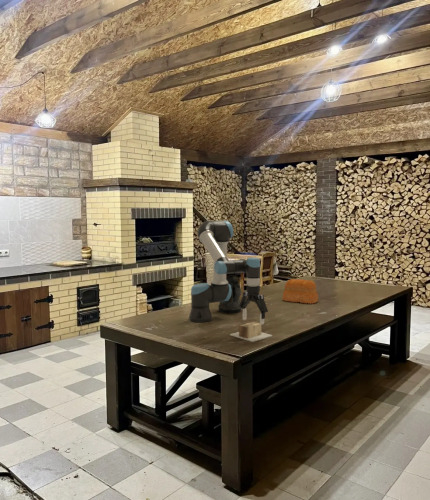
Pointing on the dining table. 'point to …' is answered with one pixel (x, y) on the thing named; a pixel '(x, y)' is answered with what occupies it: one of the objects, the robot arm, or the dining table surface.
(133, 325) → the dining table surface
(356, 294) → the dining table surface
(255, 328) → the oak block
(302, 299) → the bread
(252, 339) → the felt mat
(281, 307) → the dining table surface
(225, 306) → the beer stein
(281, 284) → the dining table surface
